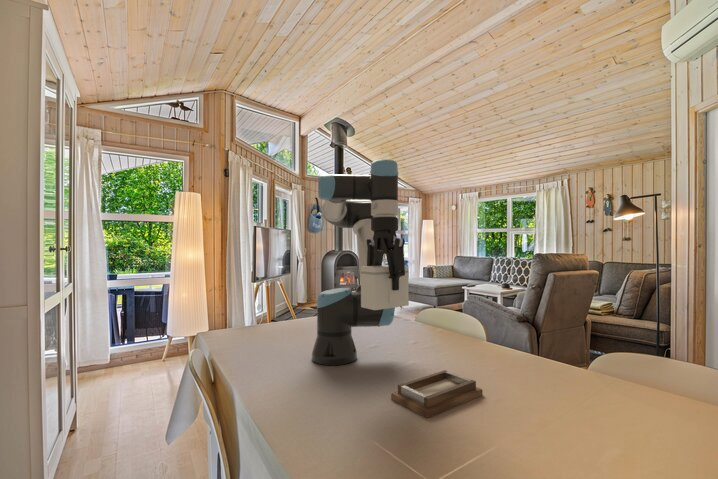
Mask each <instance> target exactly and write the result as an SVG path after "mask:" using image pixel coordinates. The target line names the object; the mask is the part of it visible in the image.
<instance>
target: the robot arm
mask: <svg viewBox="0 0 718 479" xmlns="http://www.w3.org/2000/svg"><path fill="white" fill-rule="evenodd" d="M398 168H399V167H398V162H397V161H396V160H394V159H388V158H387V159H384V158H383V159H381V158H380V159H375V160H373V161H372V162H371V164H370V171H369V173H370V174H337V173H336V174H334V173H329V174H328V173H327V174H320V175H319V176H318V180H317V182H318V183H317V185H318V187H317V191H318V193H317V194H318V198H319V200H324V201H323V204H322V208H321V212H322V216H323V218H324V219H325V220H326V221H327V222H328V223H329V224H330V225H333V226H335V227H338V228H341V229H342V228H344V229H352V232H353V233H354V235H356V240H357V242H356V243H357V254H358V255H357V257H358V269H359V271H358V272H359V283H360V284H359V285H358V286H357V287H356V290H355V292H353V291H352V289H351V287H339V288H331V289H327V290H324V291H321V292H320V293H319V294H318V295H317V297H316V298H317V300H316V303H317V304H316V308H317V309H316V311H317V312H316V317H317V318H316V323H317V324H316V327H317V328H316V330H317V332H316V339H315V341H314V344H313V349H312V352H311V359H312V362H314V363H316V364H318V365H324V366H341V365H347V364H352V363H353V362H355V361H356V360H357V356H358V354H357V353H358V352H357V348H356V345H355V342H354V339H353V335H352V328H354V327H355V328H361V327H362V328H363V327H365V328H366V327H378V328H380V327H387V326H390V325H392V323H393V322H394V318H395V310H396V307H394V308H387V309H380V310H371V309H367V308H363V307H361V266H382V265H383V260H384V255H385V256H386V257H385V258H386V260H387V261H386V262H387V265H388V267H389V272H390V276H389V278H388V294H389V303H396V302H398V290H399V278H400V277H401V276H404V275H405V266H406V265H405V251H404V249H405V248H404V246H405V242H406V239H405V238H403V237H402V238H400V237H398V236H397V231H398V230H399V218H398V217H397V216H399V198H398V197H399V174H400V173H399V169H398ZM394 272H395V273H394Z"/></svg>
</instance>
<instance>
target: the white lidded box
mask: <svg viewBox="0 0 718 479" xmlns="http://www.w3.org/2000/svg"><path fill="white" fill-rule="evenodd" d="M394 273H395V272H394ZM389 276H390V272H389V267H388V264H385V265H383V264H382V266H361V307H363V308H367V309H371V310H380V309H387V308H394V307H395V308H399V307H408V306H409V304H410V303H409V302H410V301H409V300H410V299H409V298H410V297H409V286H410V285H409V265H405V275H404V276H401V277H400V278H399V290H398V302H396V303H389V294H388V278H389Z"/></svg>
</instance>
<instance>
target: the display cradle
mask: <svg viewBox="0 0 718 479" xmlns="http://www.w3.org/2000/svg"><path fill="white" fill-rule="evenodd" d="M390 394H391V397H390V399H391V401H394V402H396V403H397V404H400V406H403V407H405V408H406V409H410V411H413V412H414V413H417V414H419V415H420V416H422V417H424V418H426V419H428V418H432V417H433V416H436V415H438V414H441V413H444V412H446V411H449V410H450V409H452V408H455V407H458V406H461V405H462V404H463V405H464V404H465V403H468V402H470V401H472V400H474V399H477V398H480V397H482V396H483V394H484V393H483V388H481V387H478V386H477V381H476V380H475V379H470V378H468V377H465V376H462V375H459V374H456V373H453V372H451V371H449V370H446V369H444V370H441V371H438V372H434V373H431V374H428V375H425V376H422V377H419V378H416V379H413V380H409V381H406V382H403V383H400V384H397V391H394V392H391V393H390Z"/></svg>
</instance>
